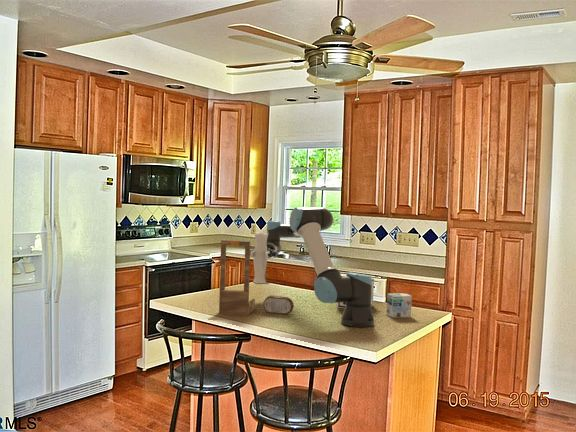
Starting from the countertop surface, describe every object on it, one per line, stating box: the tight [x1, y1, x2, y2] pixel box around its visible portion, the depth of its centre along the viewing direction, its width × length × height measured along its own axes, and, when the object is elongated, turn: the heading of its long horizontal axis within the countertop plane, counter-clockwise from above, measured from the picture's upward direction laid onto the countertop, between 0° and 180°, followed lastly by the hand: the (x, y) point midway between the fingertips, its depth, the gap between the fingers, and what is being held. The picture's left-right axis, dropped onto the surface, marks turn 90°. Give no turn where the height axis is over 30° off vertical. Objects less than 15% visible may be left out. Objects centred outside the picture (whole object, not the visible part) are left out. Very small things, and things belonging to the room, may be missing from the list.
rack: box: [218, 239, 256, 317], centre depth 270 cm, size 15×14×36 cm
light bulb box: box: [385, 292, 413, 318], centre depth 273 cm, size 11×7×11 cm, turn 105°
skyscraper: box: [252, 228, 270, 285], centre depth 282 cm, size 8×8×28 cm
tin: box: [263, 295, 294, 315], centre depth 270 cm, size 15×3×8 cm, turn 74°
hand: (258, 255), depth 277 cm, fingers closed on skyscraper, 7 cm apart
